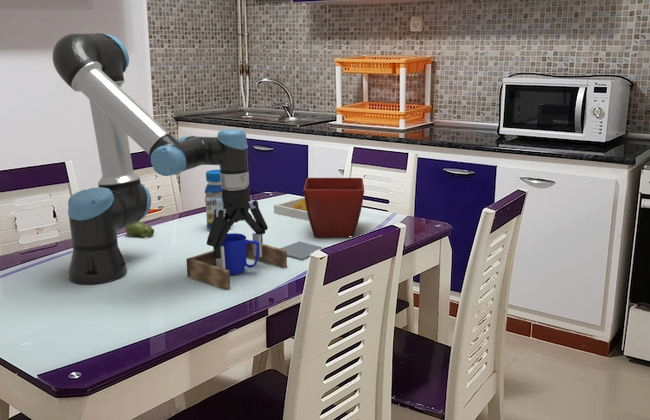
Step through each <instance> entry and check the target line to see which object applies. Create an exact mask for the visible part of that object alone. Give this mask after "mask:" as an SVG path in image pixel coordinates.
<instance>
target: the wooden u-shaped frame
mask: <svg viewBox="0 0 650 420" xmlns="http://www.w3.org/2000/svg"><path fill="white" fill-rule="evenodd" d="M261 246H262V257H259V258H258V262H262V263H265V264H268V265H272V266H274V267H275V266H276V267H279V268H281V269H282V268H283V269H286V268H287V267H288V260H287V259H288V257H287V250H283V249H280V248H281V247H275V246H272V245H269V244H268V245H267V244H265V243H262V244H261ZM246 259H252V260H254V261H255V259H256V256H254V254H253V244H251V243H250V244H247V250H246ZM186 272H187V277H188V278H191V279H193V280H194V279H195V280H196V281H200V282H202V283H205V284H209V285H212V286H215V287H217V288H220V289H223V290H230V289H231V278H230V275H229V270H226V269H223V268H220V267H217V266H216V258H215V257H214V249H212V250H210V251H207V252H203V253H201V254H197V255H195V256H191V257H188V258H186Z"/></svg>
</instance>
